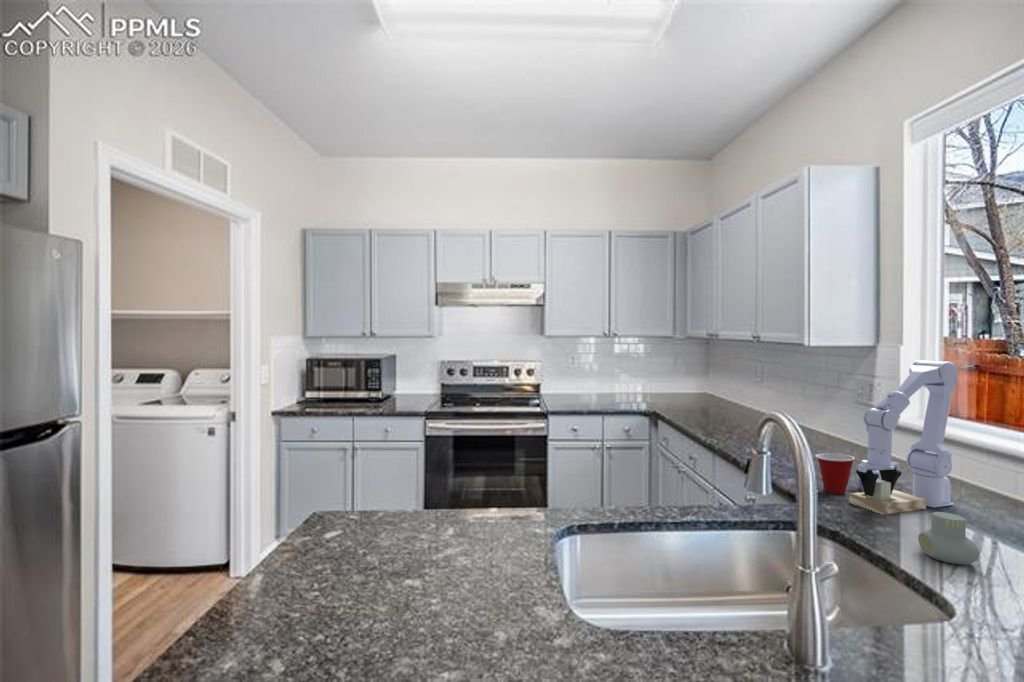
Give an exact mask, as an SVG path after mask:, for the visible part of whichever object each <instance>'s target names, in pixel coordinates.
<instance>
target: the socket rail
mask: <svg viewBox="0 0 1024 682" xmlns="http://www.w3.org/2000/svg"><path fill="white" fill-rule="evenodd" d="M848 500H849V502H848V503H849V504H850V503H851V505H853V504H854V506H856V505H857V506H856V507H859V506H860V507H859V508H862V507H863V508H862V509H865V508H866V509H865V510H868V509H869V510H868V511H871V510H872V512H874V513H876V514H877V513H878V514H879V513H880V515H890V514H899V513H907V511H908V512H913V510H916V511H921V510H920V509H924V510H927V506H926V499H924V498H921V497H917V496H914V495H913V494H910V493H906V492H903V491H900V490H896V489H893V491H892V494H891V495H890V501H884V502H880V501H877V500H874V499H871V498H868V497H867V495H865V493H864V491H861V492H852V493H851V492H850V493H849V499H848Z"/></svg>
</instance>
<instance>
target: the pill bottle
mask: <svg viewBox="0 0 1024 682" xmlns="http://www.w3.org/2000/svg"><path fill="white" fill-rule="evenodd" d="M865 462H867V459H862V460H861V463H860V464H863V463H865ZM872 472H873V474H877V475H879V477H878V478H877V479H880V472H879V470H878V471H872ZM859 488H860V489H862V490H864V489H863V486H862V482H861V480H860V478H859V477H858V489H859ZM860 489H859V490H860ZM862 490H861V491H862Z"/></svg>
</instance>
